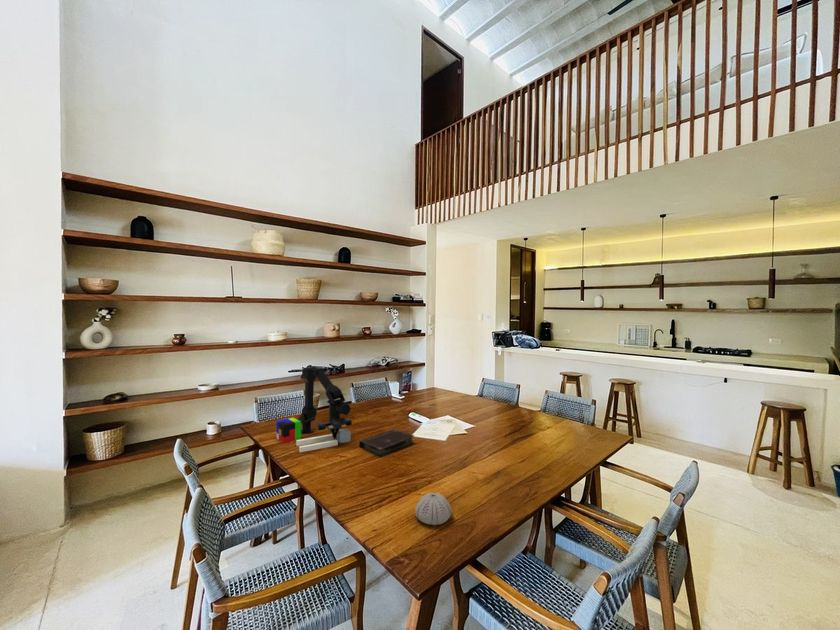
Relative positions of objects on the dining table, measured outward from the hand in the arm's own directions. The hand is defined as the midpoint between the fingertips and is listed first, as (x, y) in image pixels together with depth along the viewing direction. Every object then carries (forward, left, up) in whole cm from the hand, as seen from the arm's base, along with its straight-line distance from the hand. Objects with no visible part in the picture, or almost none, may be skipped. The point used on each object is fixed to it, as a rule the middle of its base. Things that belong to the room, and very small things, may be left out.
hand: (334, 439), depth 194 cm
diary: (+19, +24, -2) cm, 31 cm away
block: (0, +5, -2) cm, 6 cm away
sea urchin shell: (+86, +13, -2) cm, 87 cm away
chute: (0, -10, -2) cm, 10 cm away
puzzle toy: (-18, -22, -2) cm, 28 cm away
